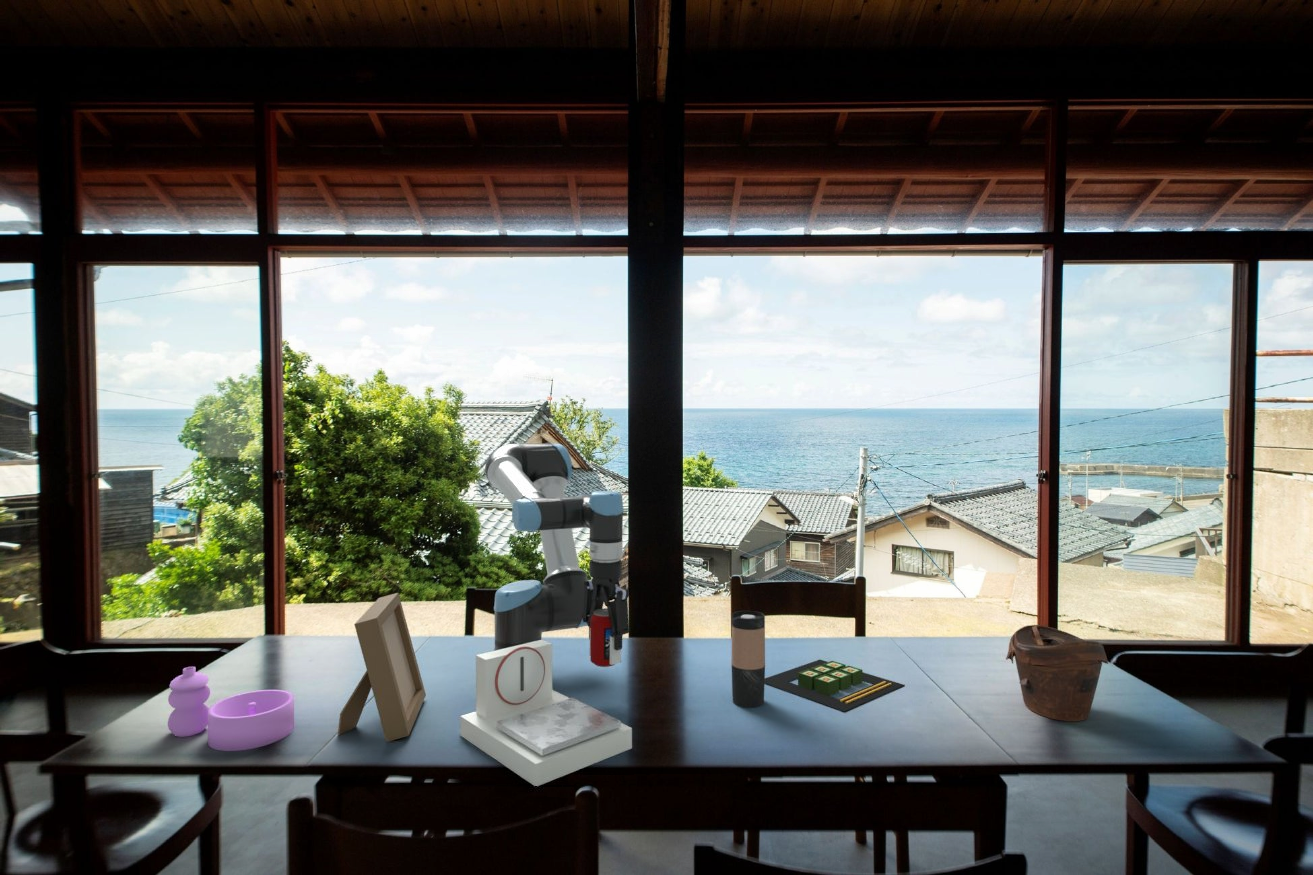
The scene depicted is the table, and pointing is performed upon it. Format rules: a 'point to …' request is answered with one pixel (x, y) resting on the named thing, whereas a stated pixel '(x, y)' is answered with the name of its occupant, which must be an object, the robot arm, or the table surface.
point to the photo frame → (386, 671)
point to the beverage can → (600, 638)
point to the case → (1056, 671)
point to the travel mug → (748, 658)
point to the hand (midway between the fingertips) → (605, 658)
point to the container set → (229, 714)
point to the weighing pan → (557, 725)
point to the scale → (520, 687)
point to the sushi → (831, 684)
